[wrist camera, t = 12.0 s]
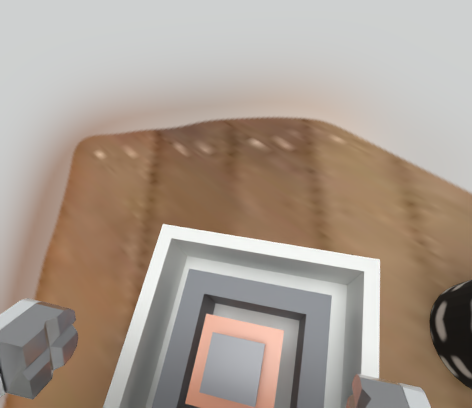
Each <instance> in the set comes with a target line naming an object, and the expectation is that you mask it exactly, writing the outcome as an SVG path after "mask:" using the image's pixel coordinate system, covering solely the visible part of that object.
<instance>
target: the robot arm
mask: <svg viewBox="0 0 472 408" xmlns="http://www.w3.org/2000/svg"><path fill="white" fill-rule="evenodd" d="M75 320H76V318H75V312H74V311H73V310H71V309H69V308H65V307H61V306H57V305H53V304H50V303H46V302H41V301H37V300H33V299H29V298H27V299H23V300H20V301H19V302H18V303H16V304H15V305H13V306H12V307H10V308H9V309H7V310H6V311H5V312H3V313H2V314H0V397H1V396H3V395H5V393H9V394H13V395H17V396H21V397H25V398H29V399H34V398H35V397H36V396H37V395H38V393H39V392H40V391H41V390H42V389H43V388H44V387H45V386H46V385H47V384H48V382H49V381H50V380H51V379H52V377H53V371H54V370H55V369H57V368H59V367H61V366H63V365H65V364H66V362H67V361H68V360H69V359H70V358H71V357H72V355H73V353H74V351H75V349H76V347H77V342H78V333H77V331H76V329H75V328H74V327H73V325H72V324H73V323H74V322H75ZM352 388H353V394H352V395H351V396H349V397H348V400H347V404H346V408H431V406H430V404H429V401H428V399H427V397H426V394H425V392H424V391H423V390H422V389H421V388H420V387H416V386H411V385H407V384H402V383H397V382H393V381H388V380H384V379H379V378H374V377H370V376H365V375H361V374H356V375H355V376H354V379H353V382H352Z"/></svg>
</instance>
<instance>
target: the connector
mask: <svg viewBox="0 0 472 408" xmlns="http://www.w3.org/2000/svg"><path fill="white" fill-rule="evenodd" d="M283 335H284V330H280V329H275V328H271V327H266V326H261V325H257V324H252V323H248V322H243V321H239V320H234V319H229V318H225V317H220V316H216V315H211V314H206V317H205V321H204V326H203V330H202V334H201V338H200V343H199V347H198V351H197V355H196V359H195V364H194V368H193V372H192V376H191V381H190V385H189V389H188V393H187V398H186V402H185V404H189V405H192V406H196V407H200V408H274V403H275V396H276V388H277V381H278V373H279V366H280V358H281V350H282V343H283Z"/></svg>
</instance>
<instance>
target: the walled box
mask: <svg viewBox="0 0 472 408" xmlns="http://www.w3.org/2000/svg"><path fill="white" fill-rule="evenodd" d="M206 314H211V315H216V316H220V317H225V318H229V319H234V320H239V321H243V322H248V323H252V324H257V325H261V326H266V327H271V328H275V329H280V330H284V335H283V343H282V350H281V358H280V366H279V373H278V381H277V388H276V396H275V403H274V408H346V404H347V400H348V397H349V396H351V395H352V394H353V388H352V382H353V379H354V376H355V375H356V374H361V375H365V376H370V377H374V378H379V317H380V260H379V259H373V258H367V257H361V256H355V255H349V254H343V253H337V252H330V251H324V250H318V249H312V248H306V247H300V246H294V245H288V244H282V243H276V242H269V241H263V240H257V239H251V238H245V237H239V236H233V235H227V234H221V233H215V232H208V231H202V230H196V229H190V228H184V227H178V226H172V225H166V224H163V226H162V229H161V232H160V235H159V238H158V241H157V244H156V247H155V250H154V253H153V256H152V259H151V263H150V266H149V269H148V272H147V275H146V278H145V281H144V284H143V287H142V290H141V293H140V296H139V299H138V302H137V305H136V308H135V311H134V315H133V318H132V321H131V324H130V327H129V330H128V333H127V336H126V339H125V342H124V345H123V348H122V351H121V354H120V357H119V360H118V363H117V367H116V370H115V373H114V376H113V379H112V382H111V385H110V388H109V391H108V394H107V397H106V400H105V403H104V406H103V408H200V407H196V406H192V405H189V404H185V402H186V398H187V393H188V389H189V385H190V381H191V376H192V372H193V368H194V364H195V359H196V355H197V351H198V347H199V343H200V338H201V334H202V330H203V326H204V321H205V317H206Z"/></svg>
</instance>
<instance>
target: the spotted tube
mask: <svg viewBox="0 0 472 408" xmlns="http://www.w3.org/2000/svg"><path fill="white" fill-rule="evenodd" d="M430 331H431V336H432V339H433V343H434V346H435V348H436V350H437V352H438V354H439V356H440V358H441V359H442V361H443V362H444V364H445V365H446V367H447V368H448V369H449V370H450V371H451V372H452V373H453V375H454V376H455V377H456V378H458V379H459V380H460V381H461V382H462V383H464V384H465V385H466V386H467V387H469V388H471V389H472V280H469V281H466V282H463V283H461V284H458V285H455V286H453V287H451V288H449V289H447V290H446V291H444V292H443V293H442V294H441V295H440V296H439V297H438V299H437V300H436V301H435V303H434V306H433V308H432V311H431V317H430Z"/></svg>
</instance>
